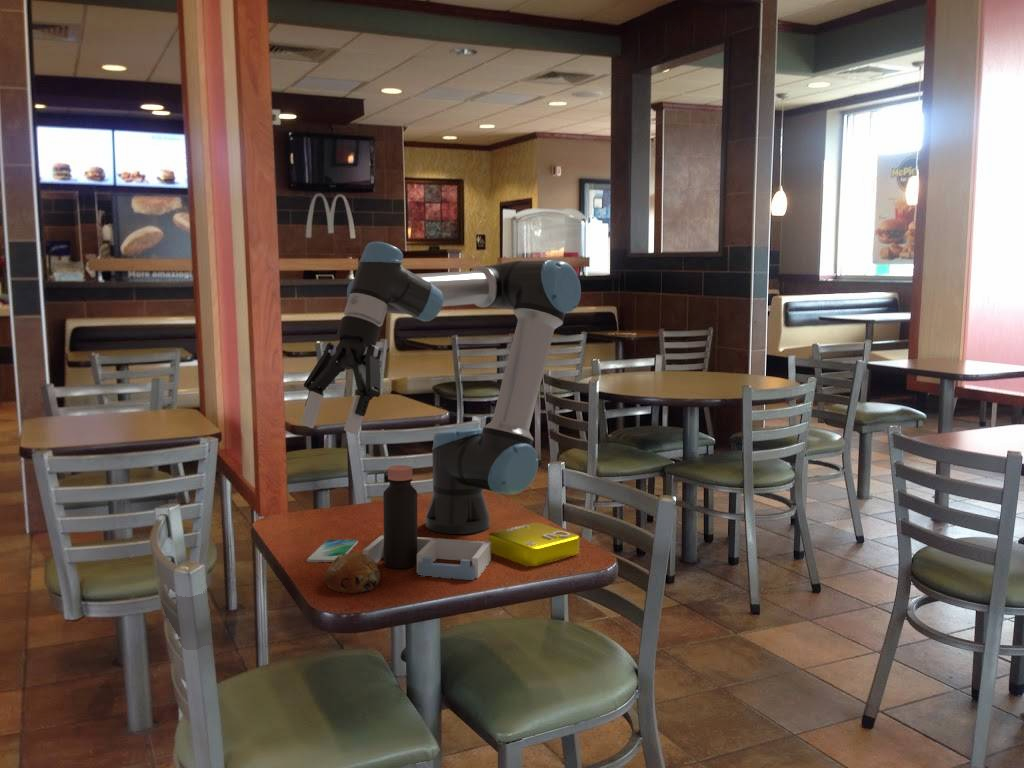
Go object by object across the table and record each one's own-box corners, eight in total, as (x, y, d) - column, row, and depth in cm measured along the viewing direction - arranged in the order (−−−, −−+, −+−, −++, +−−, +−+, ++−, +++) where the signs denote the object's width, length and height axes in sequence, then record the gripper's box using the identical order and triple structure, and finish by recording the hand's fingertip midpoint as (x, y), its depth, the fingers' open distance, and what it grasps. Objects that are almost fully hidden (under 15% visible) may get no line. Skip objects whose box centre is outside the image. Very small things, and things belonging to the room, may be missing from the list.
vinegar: (391, 557, 186) (390, 463, 183) (422, 560, 184) (421, 465, 182) (378, 567, 179) (377, 470, 177) (410, 570, 178) (409, 472, 175)
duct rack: (382, 552, 189) (382, 534, 189) (490, 560, 184) (490, 541, 184) (360, 571, 177) (360, 551, 176) (476, 580, 172) (476, 560, 172)
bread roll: (373, 594, 175) (367, 553, 177) (390, 587, 166) (383, 544, 168) (324, 602, 170) (318, 560, 172) (338, 595, 162) (332, 551, 164)
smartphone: (304, 560, 183) (326, 539, 198) (304, 564, 183) (327, 542, 198) (339, 560, 182) (358, 539, 197) (339, 564, 182) (359, 543, 197)
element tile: (536, 539, 201) (536, 519, 200) (583, 555, 190) (583, 533, 189) (484, 552, 191) (484, 530, 191) (530, 570, 180) (531, 547, 179)
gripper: (307, 314, 174) (273, 417, 169) (390, 313, 157) (354, 429, 152) (337, 328, 179) (304, 429, 175) (420, 329, 162) (386, 441, 158)
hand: (327, 429), depth 163 cm, fingers open, 13 cm apart
